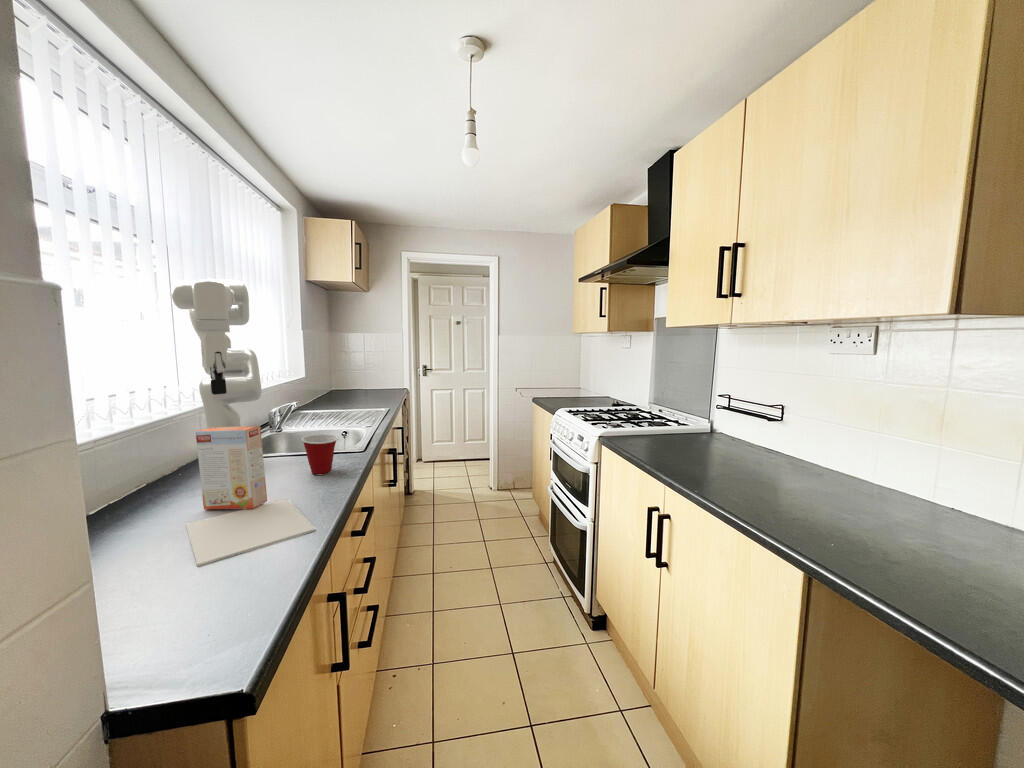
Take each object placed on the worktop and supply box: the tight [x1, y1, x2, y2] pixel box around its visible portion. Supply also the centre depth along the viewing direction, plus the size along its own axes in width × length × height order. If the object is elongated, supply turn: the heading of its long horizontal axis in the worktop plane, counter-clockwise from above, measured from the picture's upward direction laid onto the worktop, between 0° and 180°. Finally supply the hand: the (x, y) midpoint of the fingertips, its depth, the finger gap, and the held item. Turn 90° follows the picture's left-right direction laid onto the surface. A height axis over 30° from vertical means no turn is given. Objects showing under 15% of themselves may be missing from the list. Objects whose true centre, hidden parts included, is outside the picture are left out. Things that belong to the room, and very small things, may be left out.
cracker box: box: [195, 425, 268, 510], centre depth 109 cm, size 14×6×21 cm, turn 84°
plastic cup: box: [301, 433, 339, 475], centre depth 137 cm, size 11×11×12 cm
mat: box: [185, 498, 316, 567], centre depth 98 cm, size 24×22×1 cm
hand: (219, 393), depth 116 cm, fingers closed
